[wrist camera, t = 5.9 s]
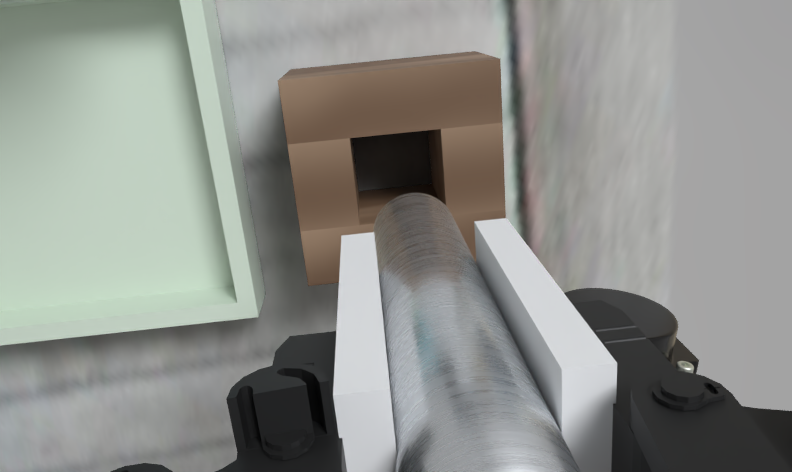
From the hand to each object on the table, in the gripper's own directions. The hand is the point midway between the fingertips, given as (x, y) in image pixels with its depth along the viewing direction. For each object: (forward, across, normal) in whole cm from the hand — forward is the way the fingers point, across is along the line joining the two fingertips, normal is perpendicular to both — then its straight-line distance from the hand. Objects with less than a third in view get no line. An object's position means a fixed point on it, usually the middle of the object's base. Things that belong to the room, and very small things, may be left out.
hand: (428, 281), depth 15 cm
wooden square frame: (+15, 0, 0) cm, 15 cm away
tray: (+15, -14, +1) cm, 20 cm away
